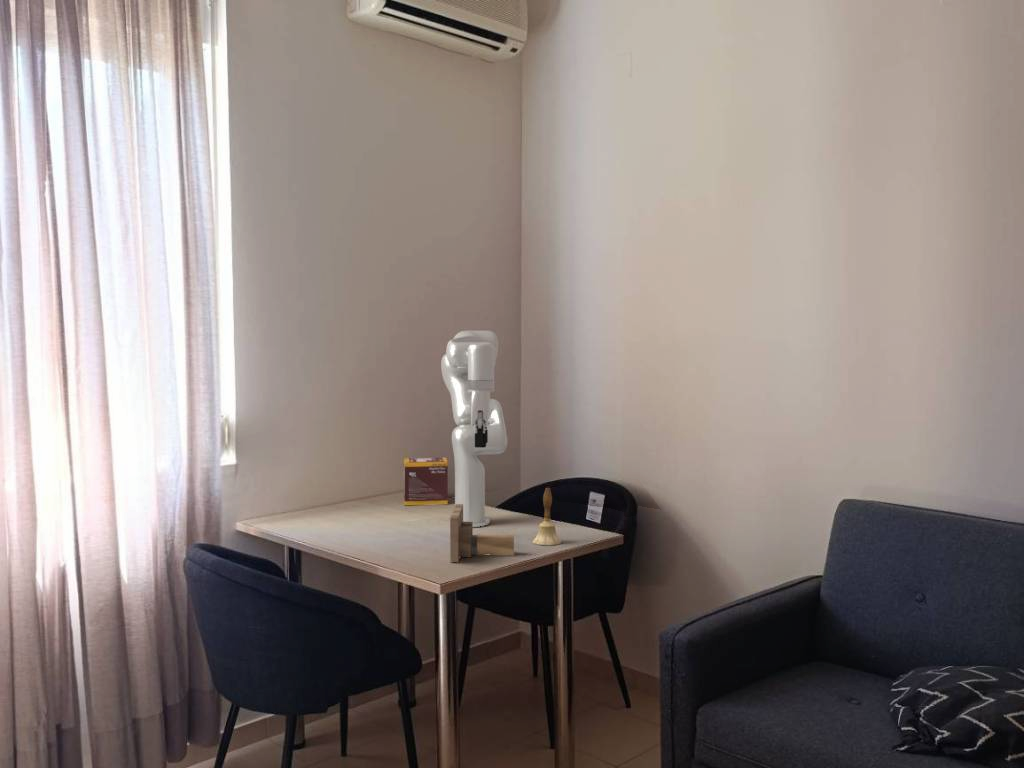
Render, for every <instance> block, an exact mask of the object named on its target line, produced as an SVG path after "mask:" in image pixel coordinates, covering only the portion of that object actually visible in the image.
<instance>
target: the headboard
mask: <svg viewBox="0 0 1024 768" xmlns="http://www.w3.org/2000/svg"><path fill="white" fill-rule="evenodd" d="M449 521H450V522H449V524H450V525H449V526H450V527H449V528H450V530H449V533H450V537H449V538H450V539H449V540H450V541H449V542H450V543H449V544H450V552H449V553H450V563H451V562H458V561H460V558H459V557H472V555H471V535H474V534H473V533H474V532H473V529H474V527H473V522H463V504H456V506H455V505H454V508H453V511H452V513H451V516H450V517H449ZM458 563H459V562H458Z"/></svg>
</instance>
